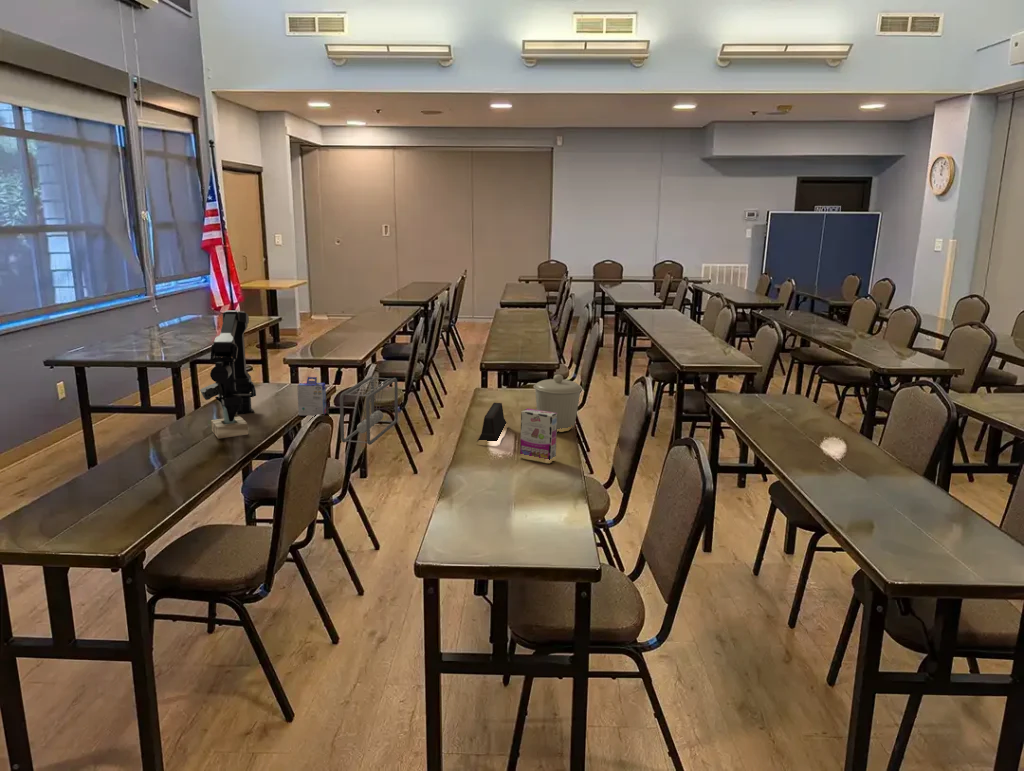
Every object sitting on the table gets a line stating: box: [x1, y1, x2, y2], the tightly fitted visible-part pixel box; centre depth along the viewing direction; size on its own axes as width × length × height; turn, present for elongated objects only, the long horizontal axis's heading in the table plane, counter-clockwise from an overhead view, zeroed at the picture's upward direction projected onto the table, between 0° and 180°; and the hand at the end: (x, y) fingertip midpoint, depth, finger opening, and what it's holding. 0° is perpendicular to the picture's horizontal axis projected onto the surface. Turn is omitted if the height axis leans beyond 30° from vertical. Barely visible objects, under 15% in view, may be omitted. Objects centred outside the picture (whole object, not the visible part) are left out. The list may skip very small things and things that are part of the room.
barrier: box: [477, 402, 507, 441], centre depth 257 cm, size 24×9×10 cm, turn 172°
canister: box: [533, 374, 583, 429], centre depth 265 cm, size 18×18×21 cm
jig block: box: [210, 416, 249, 440], centre depth 252 cm, size 10×10×4 cm
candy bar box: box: [519, 408, 558, 460], centre depth 232 cm, size 11×5×16 cm, turn 62°
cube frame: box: [339, 375, 399, 445], centre depth 255 cm, size 30×10×18 cm, turn 170°
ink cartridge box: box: [297, 376, 328, 417], centre depth 276 cm, size 10×6×14 cm, turn 92°
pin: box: [222, 406, 236, 424], centre depth 251 cm, size 4×4×9 cm
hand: (229, 419), depth 251 cm, fingers open, 6 cm apart
